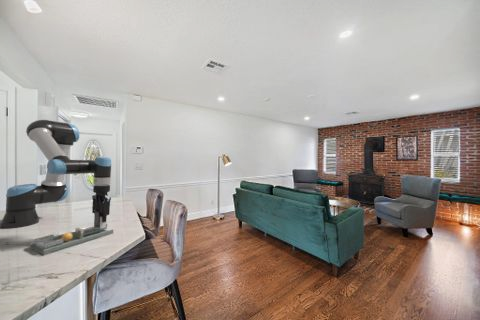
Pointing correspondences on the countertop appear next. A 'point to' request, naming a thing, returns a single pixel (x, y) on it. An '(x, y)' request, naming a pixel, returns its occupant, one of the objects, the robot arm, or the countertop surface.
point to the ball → (67, 237)
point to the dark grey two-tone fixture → (81, 232)
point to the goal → (47, 242)
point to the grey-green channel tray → (71, 241)
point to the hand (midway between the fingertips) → (100, 226)
